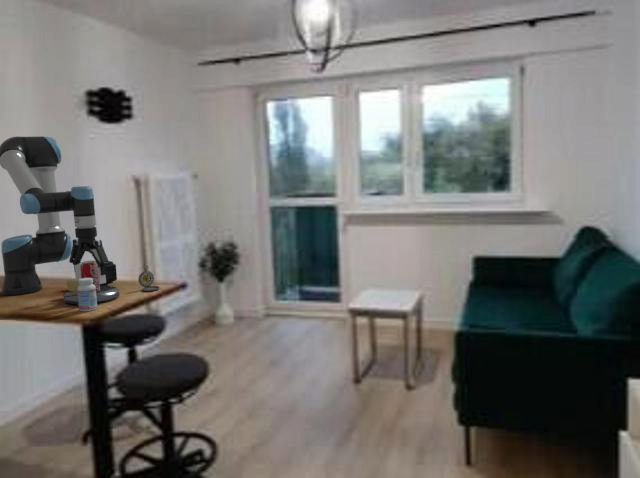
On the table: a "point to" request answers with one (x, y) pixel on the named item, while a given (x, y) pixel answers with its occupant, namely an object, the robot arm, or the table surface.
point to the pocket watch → (144, 276)
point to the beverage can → (90, 272)
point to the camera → (110, 274)
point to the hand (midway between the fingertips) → (90, 282)
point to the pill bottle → (87, 295)
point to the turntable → (101, 295)
